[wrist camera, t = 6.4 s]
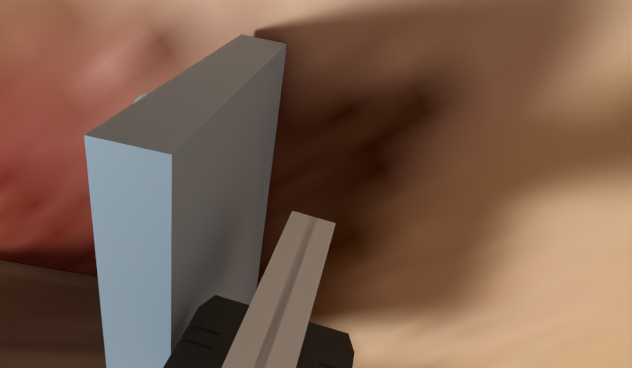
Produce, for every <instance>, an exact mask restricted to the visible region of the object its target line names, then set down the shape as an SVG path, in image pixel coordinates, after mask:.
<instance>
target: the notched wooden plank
mask: <svg viewBox="0 0 632 368" xmlns="http://www.w3.org/2000/svg"><path fill="white" fill-rule="evenodd" d="M0 368H106V358H105V347H104V337H103V326H102V316H101V305H100V295H99V284H98V276H92V275H86V274H80V273H74V272H69V271H63V270H57V269H51V268H45V267H39V266H33V265H27V264H21V263H15V262H9V261H3V260H0Z"/></svg>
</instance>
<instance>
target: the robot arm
mask: <svg viewBox="0 0 632 368" xmlns="http://www.w3.org/2000/svg"><path fill="white" fill-rule="evenodd" d="M335 224H336V223H333V222H330V221H326V220H323V219H319V218H316V217H312V216H309V215H305V214H302V213H298V212H295V211H292V212H291V215H290V217H289V219H288V221H287V224H286V226H285V228H284V230H283V232H282V235H281V237H280V239H279V241H278V244H277V246H276V248H275V250H274V252H273V255H272V257H271V259H270V261H269V264H268V266H267V268H266V270H265V272H264V275H263V277H262V279H261V281H260V284H259V286H258V288H257V290H256V292H255V295H254V297H253V299H252V301H251V304H250V305H247V304H244V303H241V302H237V301H234V300H231V299H227V298H224V297H221V296H218V295H214V296H213V297H212V298H210V299H209V300H208V301H206V302H205V303H203V304H202V305H201V306H199V307H198V309H197V311H196V312H195V314H194V316H193V318H192V319H191V321H190V323H189V325H188V327H187V328H186V329H185V331H184V333H183V335H182V336H181V339H180V341H178V343H177V345H176V346H175V348H174V350H173V352H172V353H171V355H170V357H169V358H168V360H167V362H166V363H165V365H164V367H163V368H352V366H353V359H354V350H353V347H352V344H351V341H350V338H349V334H348V333H344V332H341V331H338V330H334V329H331V328H328V327H324V326H321V325H318V324H315V323H311V322H309V318H310V315H311V311H312V308H313V304H314V300H315V297H316V293H317V289H318V286H319V282H320V279H321V275H322V271H323V268H324V264H325V260H326V257H327V253H328V250H329V246H330V242H331V239H332V235H333V231H334V228H335Z"/></svg>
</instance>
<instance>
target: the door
mask: <svg viewBox="0 0 632 368" xmlns="http://www.w3.org/2000/svg"><path fill="white" fill-rule="evenodd" d="M286 49H287V44H286V43H281V42H276V41H271V40H266V39H262V38H257V37H252V36H247V35H242V34H241V35H240V36H238V37H237V38H235V39H234V40H232V41H230V42H229V43H227V44H226V45H224V46H223V47H221V48H219V49H218V50H216V51H215V52H213V53H212V54H210V55H209V56H207V57H205V58H204V59H202V60H201V61H199V62H198V63H196V64H195V65H193V66H191V67H190V68H188V69H187V70H185V71H184V72H182V73H180V74H179V75H177V76H176V77H174V78H173V79H171V80H170V81H168V82H166V83H165V84H163V85H162V86H160V87H159V88H157V89H156V90H154V91H152V92H151V93H149V94H148V93H144V94H141V95H140V96H139V97H138V98H137V99H136V100H135V101H134V103H133V104H132V105H131V106H129V107H127V108H126V109H124V110H123V111H121V112H120V113H118V114H117V115H115V116H113V117H112V118H110V119H109V120H107V121H106V122H104V123H102V124H101V125H99V126H98V127H96V128H95V129H93V130H92V131H90V132H88V133H87V134H85V135H84V138H85V148H86V159H87V169H88V180H89V190H90V201H91V211H92V222H93V232H94V243H95V253H96V263H97V274H98V284H99V295H100V305H101V316H102V326H103V337H104V347H105V358H106V368H163V367H164V365H165V363H166V362H167V360H168V358H169V357H170V355H171V353H172V352H173V350H174V348H175V346H176V345H177V343H178V341H180V339H181V336H182V335H183V333H184V331H185V329H186V328H187V327H188V325H189V323H190V321H191V319H192V318H193V316H194V314H195V312H196V311H197V309H198V307H199V306H201V305H202V304H203V303H205V302H206V301H208V300H209V299H210V298H212V297H213V296H214V295H218V296H221V297H224V298H227V299H231V300H234V301H237V302H241V303H244V304H247V305H250V304H251V301H252V299H253V297H254V295H255V292H256V290H257V282H258V274H259V266H260V258H261V250H262V242H263V234H264V226H265V218H266V210H267V202H268V194H269V186H270V178H271V169H272V161H273V153H274V145H275V137H276V129H277V121H278V113H279V105H280V97H281V89H282V81H283V73H284V65H285V57H286Z"/></svg>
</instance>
